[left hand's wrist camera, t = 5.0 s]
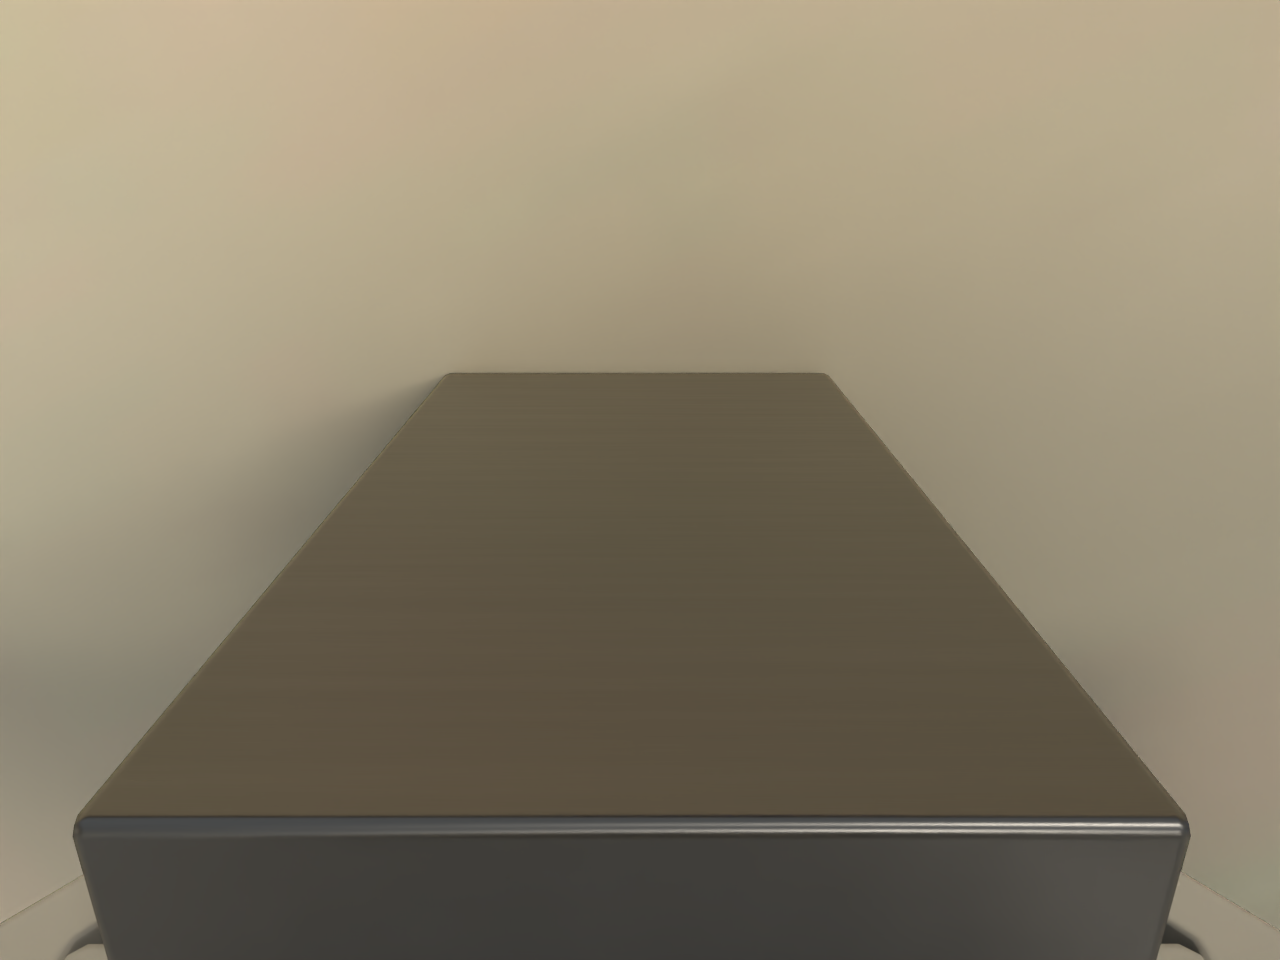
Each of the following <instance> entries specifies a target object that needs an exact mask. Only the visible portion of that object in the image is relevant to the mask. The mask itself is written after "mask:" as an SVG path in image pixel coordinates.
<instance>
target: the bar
mask: <svg viewBox="0 0 1280 960" xmlns="http://www.w3.org/2000/svg"><path fill="white" fill-rule="evenodd" d="M73 839H74V843H75V846H76V850H77V853H78V857H79V860H80V864H81V867H82V871H83V874H84V878H85V881H86V885H87V889H88V892H89V896H90V899H91V903H92V906H93V910H94V913H95V917H96V920H97V924H98V927H99V931H100V934H101V938H102V941H103V945H104V948H105V952H106V955H107V959H108V960H1156V959H1157V956H1158V952H1159V949H1160V945H1161V941H1162V938H1163V934H1164V930H1165V927H1166V923H1167V920H1168V916H1169V912H1170V909H1171V905H1172V902H1173V898H1174V894H1175V891H1176V887H1177V883H1178V880H1179V876H1180V873H1181V869H1182V865H1183V862H1184V858H1185V854H1186V851H1187V847H1188V844H1189V840H1190V829H1189V823H1188V821H1187V818H1186V815H1185V813H1184V812H1183V811H1182V810H1181V808H1180V807H1179V806H1178V805H1177V803H1176V802H1175V801H1174V800H1173V799H1172V797H1171V796H1170V795H1169V794H1168V792H1167V791H1166V790H1165V789H1164V787H1163V786H1162V785H1161V784H1160V783H1159V781H1158V780H1157V779H1156V778H1155V776H1154V775H1153V774H1152V773H1151V772H1150V770H1149V769H1148V768H1147V767H1146V765H1145V764H1144V763H1143V762H1142V760H1141V759H1140V758H1139V757H1138V756H1137V754H1136V753H1135V752H1134V751H1133V749H1132V748H1131V747H1130V746H1129V744H1128V743H1127V742H1126V741H1125V740H1124V738H1123V737H1122V736H1121V735H1120V733H1119V732H1118V731H1117V730H1116V728H1115V727H1114V726H1113V725H1112V724H1111V722H1110V721H1109V720H1108V719H1107V717H1106V716H1105V715H1104V714H1103V712H1102V711H1101V710H1100V709H1099V708H1098V706H1097V705H1096V704H1095V703H1094V701H1093V700H1092V699H1091V698H1090V697H1089V695H1088V694H1087V693H1086V692H1085V690H1084V689H1083V688H1082V687H1081V685H1080V684H1079V683H1078V682H1077V681H1076V679H1075V678H1074V677H1073V676H1072V674H1071V673H1070V672H1069V671H1068V669H1067V668H1066V667H1065V666H1064V665H1063V663H1062V662H1061V661H1060V660H1059V658H1058V657H1057V656H1056V655H1055V653H1054V652H1053V651H1052V650H1051V649H1050V647H1049V646H1048V645H1047V644H1046V642H1045V641H1044V640H1043V639H1042V637H1041V636H1040V635H1039V634H1038V633H1037V631H1036V630H1035V629H1034V628H1033V626H1032V625H1031V624H1030V623H1029V622H1028V620H1027V619H1026V618H1025V617H1024V615H1023V614H1022V613H1021V612H1020V610H1019V609H1018V608H1017V607H1016V606H1015V604H1014V603H1013V602H1012V601H1011V599H1010V598H1009V597H1008V596H1007V594H1006V593H1005V592H1004V591H1003V590H1002V588H1001V587H1000V586H999V585H998V583H997V582H996V581H995V580H994V578H993V577H992V576H991V575H990V574H989V572H988V571H987V570H986V569H985V567H984V566H983V565H982V564H981V562H980V561H979V560H978V559H977V558H976V556H975V555H974V554H973V553H972V551H971V550H970V549H969V548H968V546H967V545H966V544H965V543H964V542H963V540H962V539H961V538H960V537H959V535H958V534H957V533H956V532H955V531H954V529H953V528H952V527H951V526H950V524H949V523H948V522H947V521H946V519H945V518H944V517H943V516H942V515H941V513H940V512H939V511H938V510H937V508H936V507H935V506H934V505H933V503H932V502H931V501H930V500H929V499H928V497H927V496H926V495H925V494H924V492H923V491H922V490H921V489H920V487H919V486H918V485H917V484H916V483H915V481H914V480H913V479H912V478H911V476H910V475H909V474H908V473H907V471H906V470H905V469H904V468H903V467H902V465H901V464H900V463H899V462H898V460H897V459H896V458H895V457H894V456H893V454H892V453H891V452H890V451H889V449H888V448H887V447H886V446H885V444H884V443H883V442H882V441H881V440H880V438H879V437H878V436H877V435H876V433H875V432H874V431H873V430H872V428H871V427H870V426H869V425H868V424H867V422H866V421H865V420H864V419H863V417H862V416H861V415H860V414H859V412H858V411H857V410H856V409H855V408H854V406H853V405H852V404H851V403H850V401H849V400H848V399H847V398H846V396H845V395H844V394H843V393H842V392H841V390H840V389H839V388H838V387H837V385H836V384H835V383H834V382H833V381H832V379H831V378H830V377H829V376H828V375H826V374H448V375H446V376H445V377H444V378H443V379H442V380H441V381H440V383H439V384H438V385H437V386H436V387H435V388H434V390H433V391H432V392H431V393H430V394H429V396H428V397H427V398H426V399H425V400H424V402H423V403H422V404H421V405H420V406H419V408H418V409H417V410H416V411H415V412H414V414H413V415H412V416H411V417H410V418H409V420H408V421H407V422H406V423H405V424H404V426H403V427H402V428H401V429H400V430H399V432H398V433H397V434H396V435H395V436H394V438H393V439H392V440H391V441H390V442H389V444H388V445H387V446H386V447H385V448H384V449H383V451H382V452H381V453H380V454H379V455H378V457H377V458H376V459H375V460H374V461H373V463H372V464H371V465H370V466H369V467H368V469H367V470H366V471H365V472H364V473H363V475H362V476H361V477H360V478H359V479H358V481H357V482H356V483H355V484H354V485H353V487H352V488H351V489H350V490H349V491H348V493H347V494H346V495H345V496H344V497H343V499H342V500H341V501H340V502H339V503H338V504H337V506H336V507H335V508H334V509H333V510H332V512H331V513H330V514H329V515H328V516H327V518H326V519H325V520H324V521H323V522H322V524H321V525H320V526H319V527H318V528H317V530H316V531H315V532H314V533H313V534H312V536H311V537H310V538H309V539H308V540H307V542H306V543H305V544H304V545H303V546H302V548H301V549H300V550H299V551H298V552H297V554H296V555H295V556H294V557H293V558H292V559H291V561H290V562H289V563H288V564H287V565H286V567H285V568H284V569H283V570H282V571H281V573H280V574H279V575H278V576H277V577H276V579H275V580H274V581H273V582H272V583H271V585H270V586H269V587H268V588H267V589H266V591H265V592H264V593H263V594H262V595H261V597H260V598H259V599H258V600H257V601H256V603H255V604H254V605H253V606H252V607H251V609H250V610H249V611H248V612H247V613H246V615H245V616H244V617H243V618H242V619H241V620H240V622H239V623H238V624H237V625H236V626H235V628H234V629H233V630H232V631H231V632H230V634H229V635H228V636H227V637H226V638H225V640H224V641H223V642H222V643H221V644H220V646H219V647H218V648H217V649H216V650H215V652H214V653H213V654H212V655H211V656H210V658H209V659H208V660H207V661H206V662H205V664H204V665H203V666H202V667H201V668H200V670H199V671H198V672H197V673H196V674H195V675H194V677H193V678H192V679H191V680H190V681H189V683H188V684H187V685H186V686H185V687H184V689H183V690H182V691H181V692H180V693H179V695H178V696H177V697H176V698H175V699H174V701H173V702H172V703H171V704H170V705H169V707H168V708H167V709H166V710H165V711H164V713H163V714H162V715H161V716H160V717H159V719H158V720H157V721H156V722H155V723H154V725H153V726H152V727H151V728H150V729H149V731H148V732H147V733H146V734H145V735H144V736H143V738H142V739H141V740H140V741H139V742H138V744H137V745H136V746H135V747H134V748H133V750H132V751H131V752H130V753H129V754H128V756H127V757H126V758H125V759H124V760H123V762H122V763H121V764H120V765H119V766H118V768H117V769H116V770H115V771H114V772H113V774H112V775H111V776H110V777H109V778H108V780H107V781H106V782H105V783H104V784H103V786H102V787H101V788H100V789H99V790H98V791H97V793H96V794H95V795H94V796H93V797H92V799H91V800H90V801H89V802H88V803H87V805H86V806H85V807H84V808H83V809H82V811H81V812H80V813H79V814H78V816H77V819H76V822H75V825H74V831H73Z"/></svg>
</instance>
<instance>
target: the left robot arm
mask: <svg viewBox="0 0 1280 960" xmlns="http://www.w3.org/2000/svg"><path fill="white" fill-rule="evenodd" d="M0 960H108V959H107V955H106V952H105V948H104V945H103V941H102V938H101V934H100V931H99V927H98V924H97V920H96V917H95V913H94V910H93V906H92V903H91V899H90V896H89V892H88V889H87V885H86V881H85V878H84V874H83V875H82V876H80V877H78V878H77V879H75V880H73V881H72V882H70V883H68V884H66V885H65V886H63V887H61V888H60V889H58V890H56V891H55V892H53V893H51V894H50V895H48V896H46V897H45V898H43V899H41V900H39V901H38V902H36V903H34V904H33V905H31V906H29V907H28V908H26V909H24V910H23V911H21V912H19V913H17V914H16V915H14V916H12V917H11V918H9V919H7V920H6V921H4V922H2V923H1V924H0ZM1156 960H1280V930H1278V929H1276V928H1275V927H1273V926H1271V925H1270V924H1268V923H1266V922H1265V921H1263V920H1261V919H1260V918H1258V917H1256V916H1255V915H1253V914H1251V913H1250V912H1248V911H1246V910H1245V909H1243V908H1241V907H1240V906H1238V905H1236V904H1235V903H1233V902H1231V901H1230V900H1228V899H1226V898H1225V897H1223V896H1221V895H1220V894H1218V893H1216V892H1215V891H1213V890H1211V889H1210V888H1208V887H1206V886H1205V885H1203V884H1201V883H1200V882H1198V881H1196V880H1195V879H1193V878H1191V877H1189V876H1188V875H1186V874H1184V873H1183V872H1181V873H1180V876H1179V880H1178V883H1177V887H1176V891H1175V894H1174V898H1173V902H1172V905H1171V909H1170V912H1169V916H1168V920H1167V923H1166V927H1165V930H1164V934H1163V938H1162V941H1161V945H1160V949H1159V952H1158V956H1157V959H1156Z"/></svg>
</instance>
